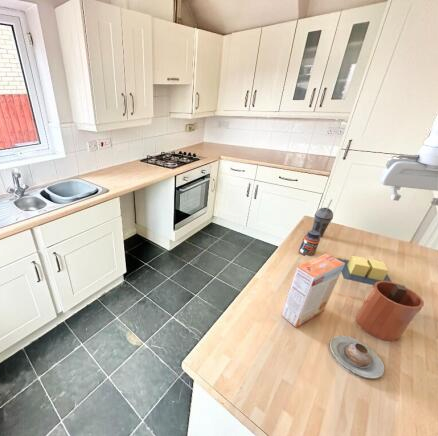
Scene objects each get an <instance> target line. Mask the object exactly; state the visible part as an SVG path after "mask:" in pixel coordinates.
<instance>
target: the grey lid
mask: <svg viewBox="0 0 438 436" xmlns="http://www.w3.org/2000/svg"><path fill="white" fill-rule="evenodd" d="M329 348H330V351H331V353H332V354H333V356H334V358H335V359H336V360H337V361H338V362H339V364H341V365H342V366H343V367H344V368H345V369H347V370H348V371H350V372H352V373H353V374H354V375H356V376H358V377H360V378H364V379H378V378H380V377H382V376H383V375H384V374H385V365H384V362H383V360H381V357H380V356H379V355H378V354H377V353H376V352H375V350H373V348H371V346H368V345H367V344H366V343H364V342H362V341H361V340H358V339H356V338H354V337H352V336H348V335H336V336H334V337H332V338H331V339H330V341H329Z"/></svg>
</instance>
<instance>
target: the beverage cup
mask: <svg viewBox="0 0 438 436" xmlns="http://www.w3.org/2000/svg"><path fill="white" fill-rule="evenodd" d="M332 202H333V199H330V201H329V203H328V205H327V207H321V208H318V209H317V210H316V211H315V213H314V219H313V224H312V228H311V230H315V231H317V232H319V233H320V234H319V238H322V237H323V236H324V234H325V232H326V231H327V228H328V226H329V225H330V223H331V221H332V220H333V219H334V213H333V211H332V209H330V206H331V203H332Z"/></svg>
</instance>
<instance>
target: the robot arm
mask: <svg viewBox="0 0 438 436" xmlns="http://www.w3.org/2000/svg"><path fill="white" fill-rule="evenodd" d="M385 166H386V167H385V168H384V169H383V171H382V173H381V174H380V176H379V178H378V180H379V182H380V184H382V185H383V186H388V187H390V189H391V193H392V194H391V196H390V200H391V201H397V202H399V201H400V199H401V197H402V195H401V194H400V193H398V191H400V190H401V188H407V189H417V190H426V191H436V192H438V115H437V116H436V118H435V120H434V121H433V124H432V125H431V127H430V133H429V135H428V137H426V139H425V140H424V141H423V143H422V145H421V146H420V148H419V150H418V152H417V154H403V153H399V154H397V155H393V156H391V157H390V158H389V159H388V160H387V163H386V165H385ZM430 204H431V205H433V206H438V197H433V198H432V200H431V201H430Z"/></svg>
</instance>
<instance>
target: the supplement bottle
mask: <svg viewBox="0 0 438 436" xmlns="http://www.w3.org/2000/svg"><path fill="white" fill-rule="evenodd" d="M319 234H320V233H319V232H317V231H315V230H312V229H310V230H308V232H307V233H305V234H304V236H303V237H302V241H301V244H300V246H299V250H298V252H299V254H300V255H302V256H304V257H305V256H307V257H308V256H309V257H312V256H314V255H315V253H316V251H317V249H318V246H319V244H320V243H321V242H320V241H321V237H319Z"/></svg>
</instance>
